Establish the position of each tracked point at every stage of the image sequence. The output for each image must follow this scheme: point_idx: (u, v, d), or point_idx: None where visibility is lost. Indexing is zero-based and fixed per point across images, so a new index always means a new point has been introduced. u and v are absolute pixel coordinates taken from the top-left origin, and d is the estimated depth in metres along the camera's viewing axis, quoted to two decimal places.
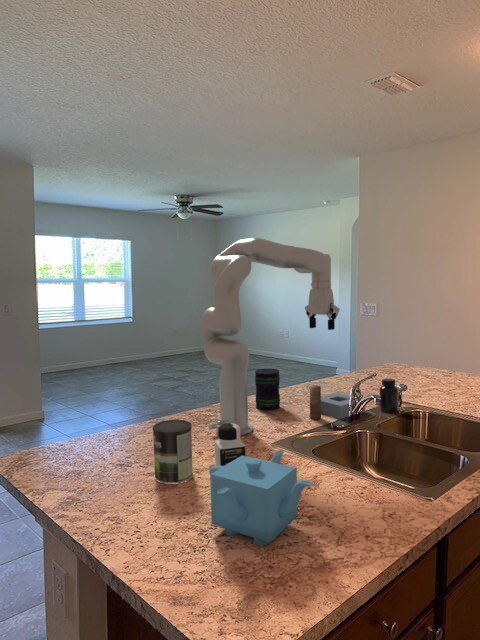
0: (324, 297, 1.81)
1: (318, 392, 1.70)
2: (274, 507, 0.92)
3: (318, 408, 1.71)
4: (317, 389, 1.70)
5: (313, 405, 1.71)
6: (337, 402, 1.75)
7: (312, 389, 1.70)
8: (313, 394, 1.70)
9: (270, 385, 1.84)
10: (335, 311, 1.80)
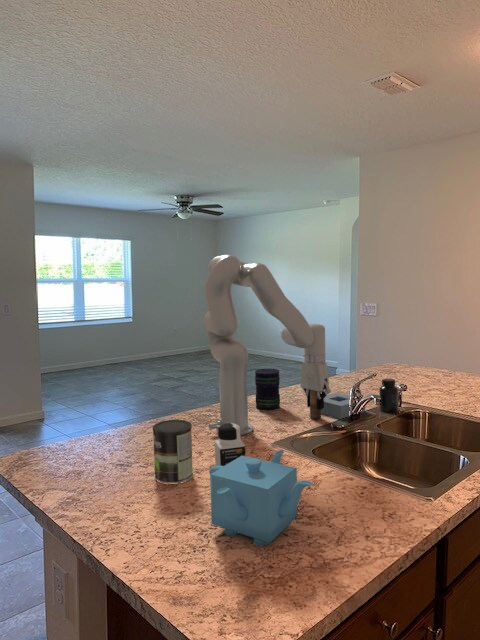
0: (318, 372, 1.67)
1: None
2: (274, 507, 0.92)
3: None
4: None
5: (313, 405, 1.71)
6: (337, 402, 1.75)
7: None
8: (313, 394, 1.70)
9: (270, 385, 1.84)
10: (325, 392, 1.67)
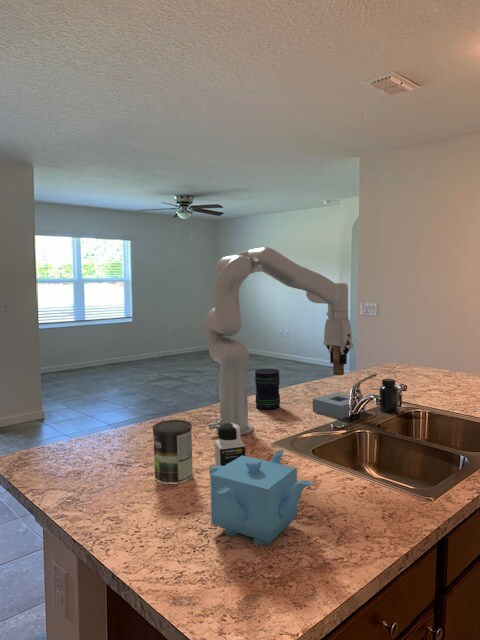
0: (341, 328, 1.73)
1: None
2: (274, 507, 0.92)
3: None
4: None
5: (336, 361, 1.77)
6: (337, 402, 1.75)
7: None
8: (337, 350, 1.77)
9: (270, 385, 1.84)
10: (349, 347, 1.74)
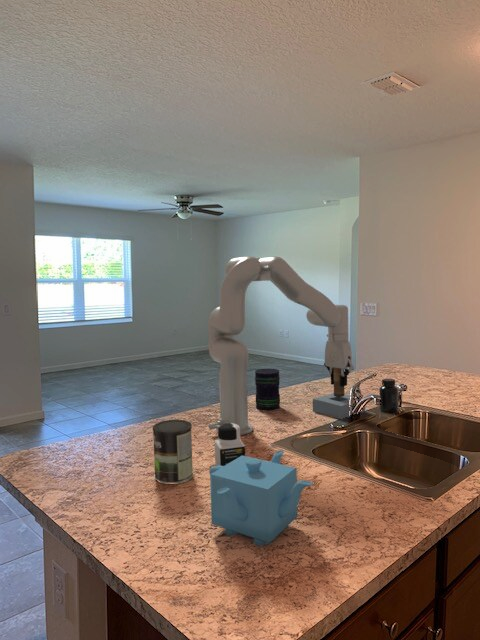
0: (341, 350, 1.74)
1: None
2: (274, 507, 0.92)
3: None
4: None
5: (336, 382, 1.78)
6: (337, 402, 1.75)
7: None
8: (337, 372, 1.78)
9: (270, 385, 1.84)
10: (349, 369, 1.75)
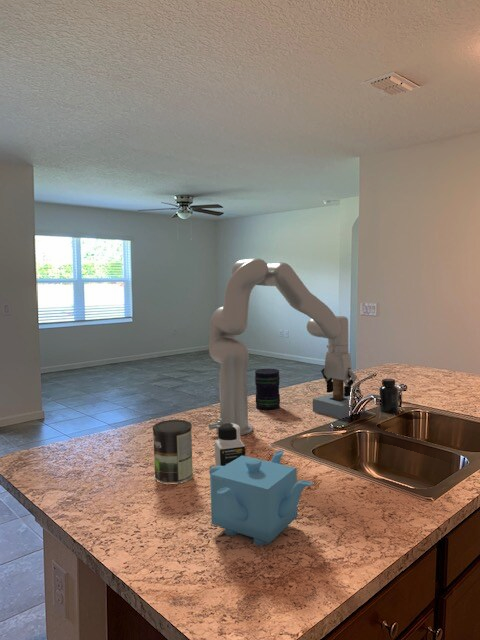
0: (341, 362, 1.75)
1: (341, 383, 1.78)
2: (274, 507, 0.92)
3: (341, 398, 1.79)
4: (340, 380, 1.78)
5: (336, 396, 1.79)
6: (337, 402, 1.75)
7: (335, 380, 1.78)
8: (337, 385, 1.78)
9: (270, 385, 1.84)
10: (352, 378, 1.74)
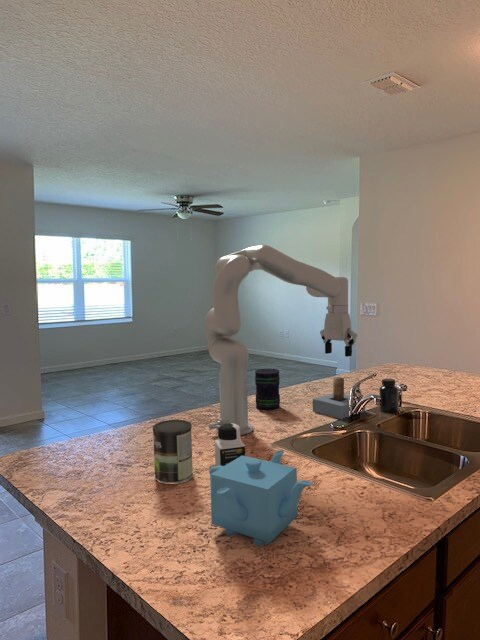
0: (341, 322, 1.73)
1: (341, 383, 1.78)
2: (274, 507, 0.92)
3: (341, 398, 1.79)
4: (340, 381, 1.78)
5: (336, 396, 1.79)
6: (337, 402, 1.75)
7: (336, 381, 1.78)
8: (337, 385, 1.78)
9: (270, 385, 1.84)
10: (353, 337, 1.72)
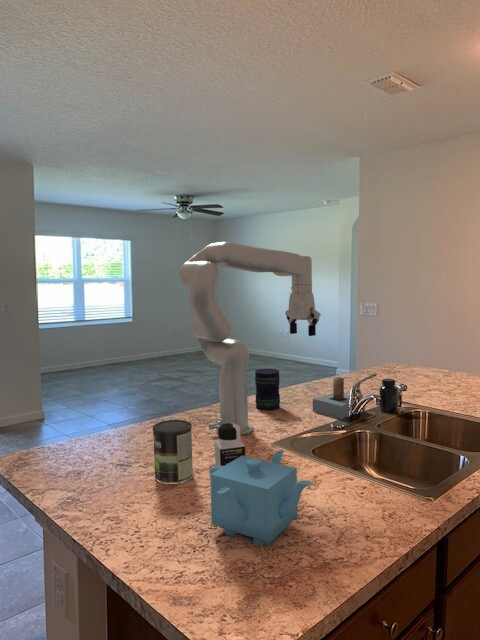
0: (304, 301, 1.72)
1: (341, 383, 1.78)
2: (274, 507, 0.92)
3: (341, 398, 1.79)
4: (340, 381, 1.78)
5: (336, 396, 1.79)
6: (337, 402, 1.75)
7: (335, 381, 1.78)
8: (337, 385, 1.78)
9: (270, 386, 1.83)
10: (316, 316, 1.71)
